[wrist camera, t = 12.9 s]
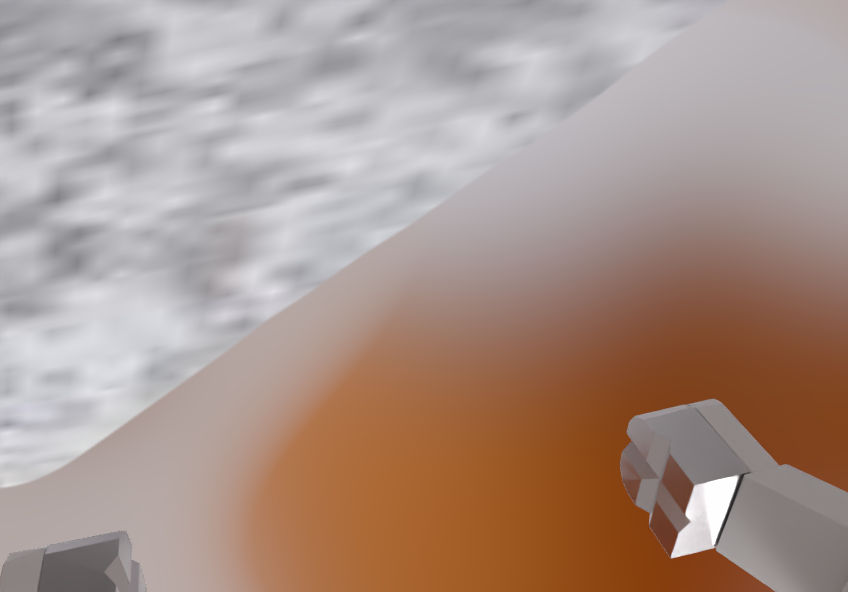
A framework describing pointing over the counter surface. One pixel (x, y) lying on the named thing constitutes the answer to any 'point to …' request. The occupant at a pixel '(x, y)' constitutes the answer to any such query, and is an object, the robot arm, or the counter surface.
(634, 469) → the robot arm
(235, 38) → the counter surface
